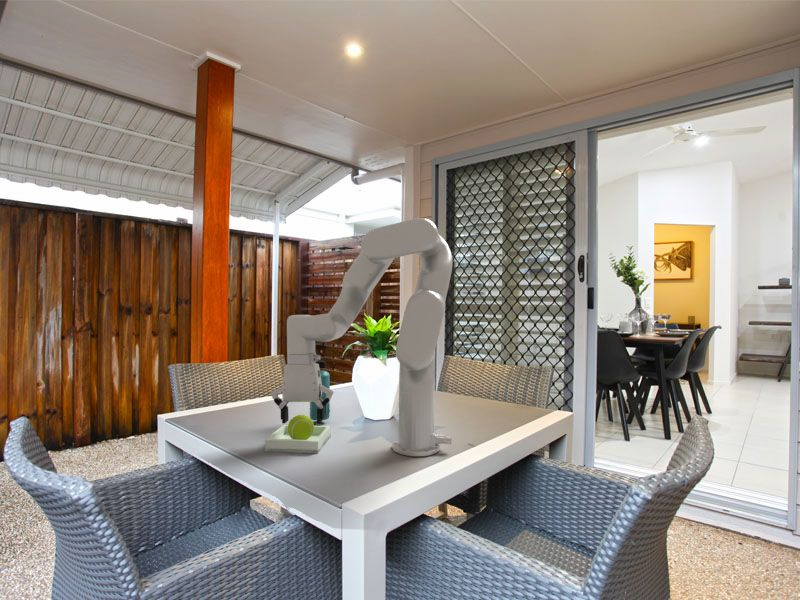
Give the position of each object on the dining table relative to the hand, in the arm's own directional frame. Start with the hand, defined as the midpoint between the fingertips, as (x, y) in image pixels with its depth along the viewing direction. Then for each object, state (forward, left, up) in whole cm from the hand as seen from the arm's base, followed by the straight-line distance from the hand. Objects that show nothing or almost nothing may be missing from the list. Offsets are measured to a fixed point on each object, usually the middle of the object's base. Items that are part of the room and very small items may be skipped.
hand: (302, 422), depth 118 cm
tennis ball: (0, 0, -5) cm, 5 cm away
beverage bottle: (+1, -21, -6) cm, 22 cm away
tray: (+1, 0, -6) cm, 6 cm away
